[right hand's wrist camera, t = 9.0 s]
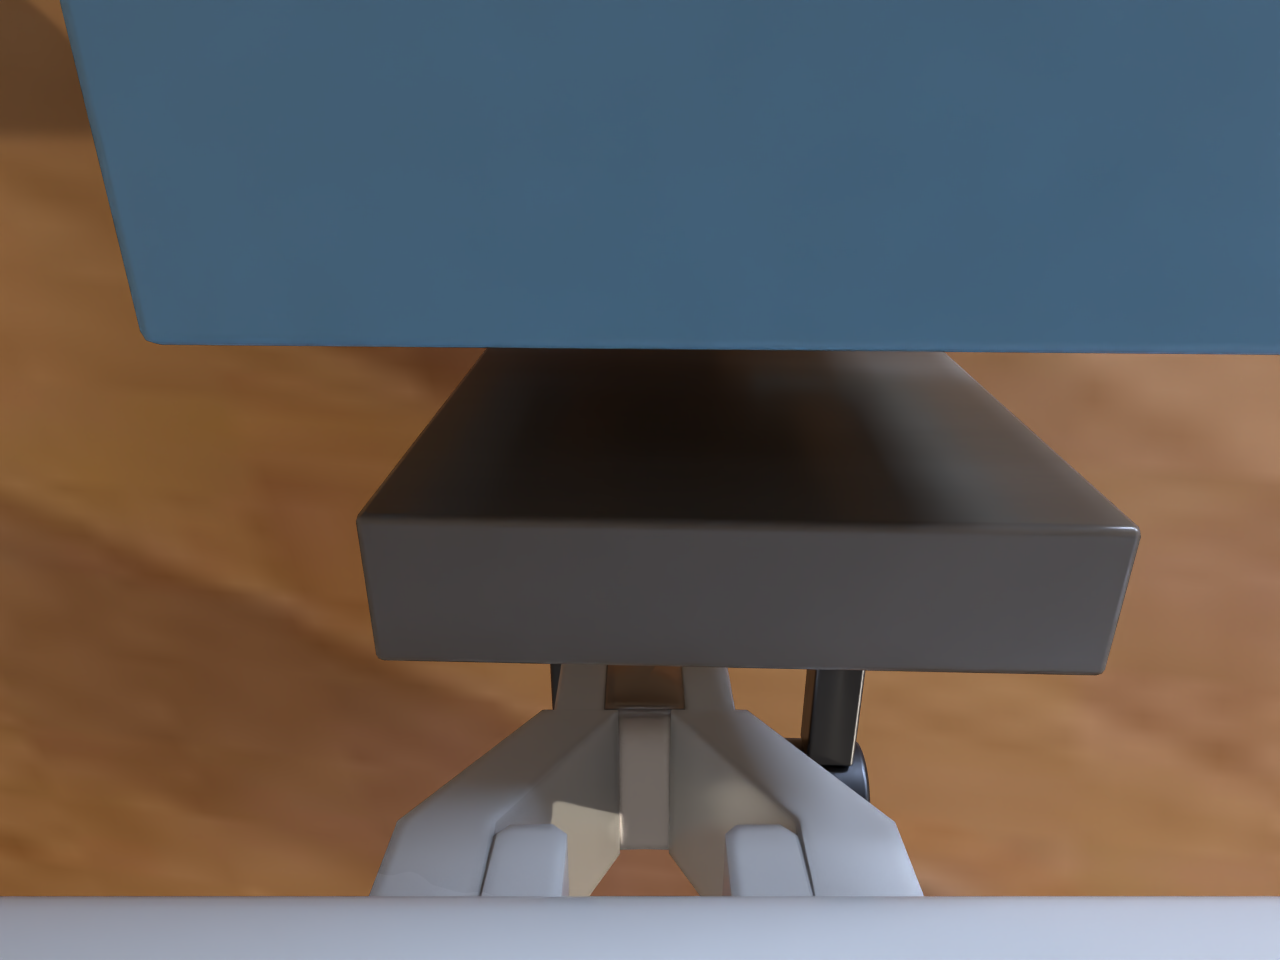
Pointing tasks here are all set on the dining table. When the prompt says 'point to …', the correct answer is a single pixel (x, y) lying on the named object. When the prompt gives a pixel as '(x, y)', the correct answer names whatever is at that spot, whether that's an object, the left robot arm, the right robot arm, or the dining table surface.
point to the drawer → (743, 526)
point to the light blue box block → (693, 172)
